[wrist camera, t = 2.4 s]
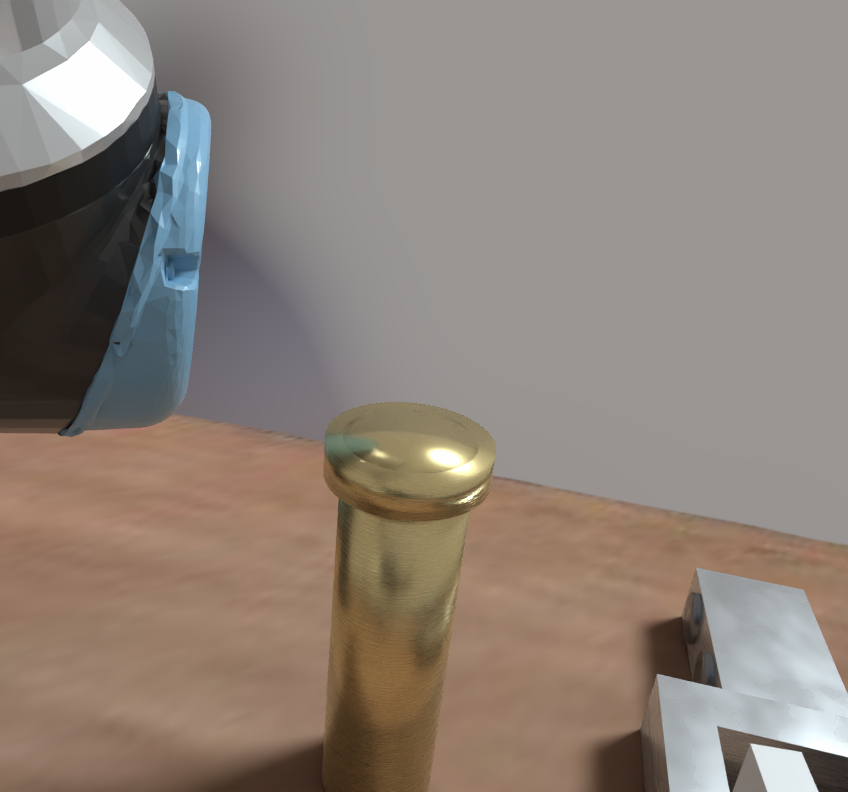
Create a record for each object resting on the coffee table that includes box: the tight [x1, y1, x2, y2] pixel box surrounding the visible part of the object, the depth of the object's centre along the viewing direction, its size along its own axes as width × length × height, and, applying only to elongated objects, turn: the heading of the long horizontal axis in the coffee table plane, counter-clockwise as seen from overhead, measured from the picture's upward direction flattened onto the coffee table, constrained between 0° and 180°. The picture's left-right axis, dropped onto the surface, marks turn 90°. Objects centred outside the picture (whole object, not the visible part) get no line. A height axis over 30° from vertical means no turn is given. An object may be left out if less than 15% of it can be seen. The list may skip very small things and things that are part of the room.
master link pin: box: [322, 402, 496, 792], centre depth 24 cm, size 5×5×14 cm
